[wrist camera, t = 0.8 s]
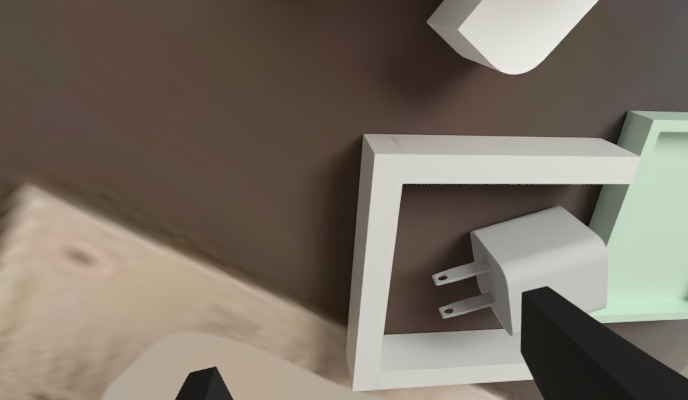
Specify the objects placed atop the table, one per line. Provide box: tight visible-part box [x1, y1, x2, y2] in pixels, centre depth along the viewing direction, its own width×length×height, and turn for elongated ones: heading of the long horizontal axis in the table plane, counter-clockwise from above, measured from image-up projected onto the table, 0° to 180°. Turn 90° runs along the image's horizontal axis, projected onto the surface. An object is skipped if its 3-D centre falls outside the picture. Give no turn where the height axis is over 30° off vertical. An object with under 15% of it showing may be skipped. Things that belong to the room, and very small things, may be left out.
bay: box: [346, 134, 641, 391], centre depth 21 cm, size 12×11×2 cm
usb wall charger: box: [432, 206, 608, 336], centre depth 20 cm, size 4×7×4 cm, turn 105°
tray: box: [588, 111, 688, 323], centre depth 22 cm, size 11×8×2 cm
